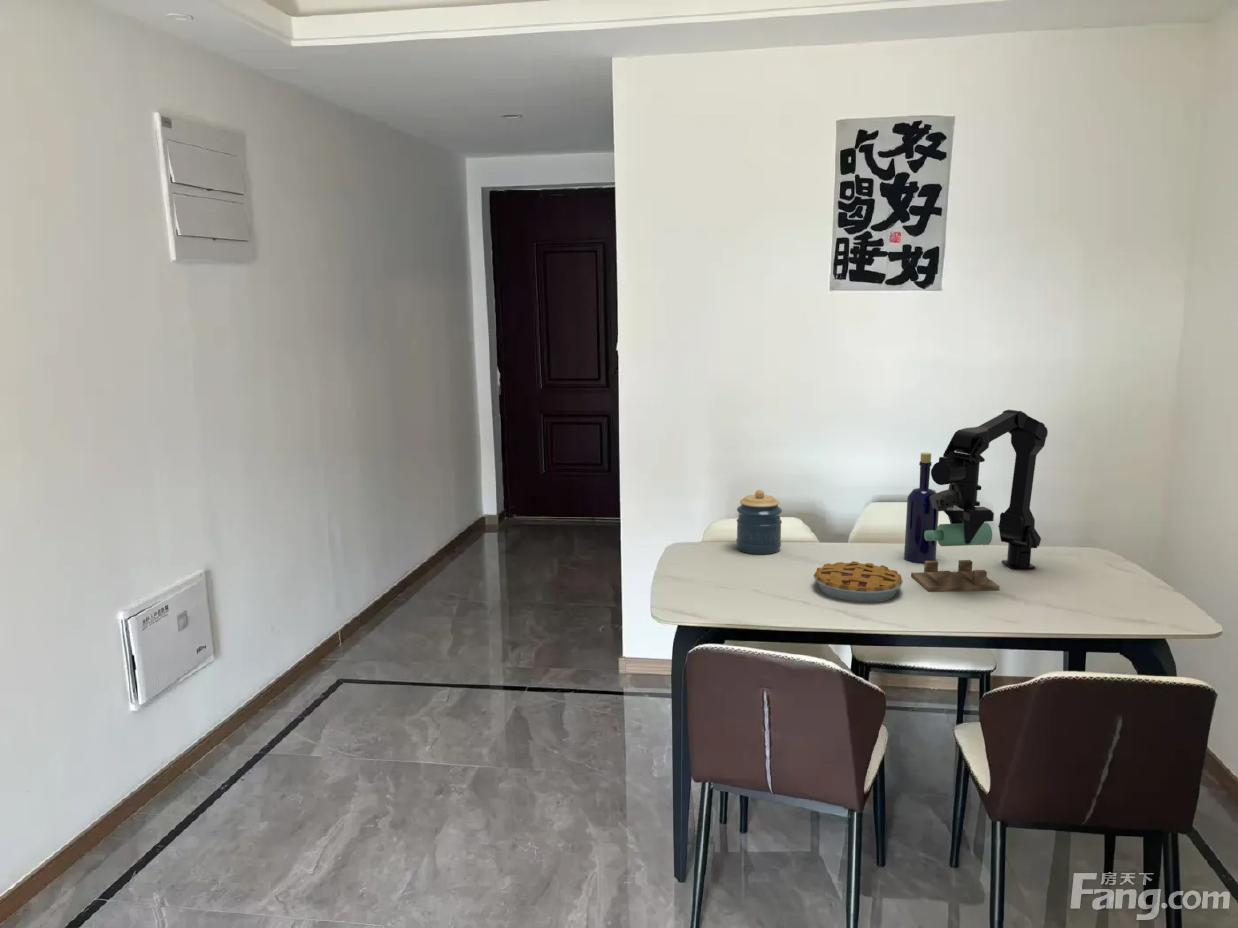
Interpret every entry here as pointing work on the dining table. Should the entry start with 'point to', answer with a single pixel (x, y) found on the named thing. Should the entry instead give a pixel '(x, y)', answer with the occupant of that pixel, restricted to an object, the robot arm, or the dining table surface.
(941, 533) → the small bottle
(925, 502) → the bottle
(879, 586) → the pie
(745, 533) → the canister
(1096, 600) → the dining table surface
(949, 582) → the bottle rest
